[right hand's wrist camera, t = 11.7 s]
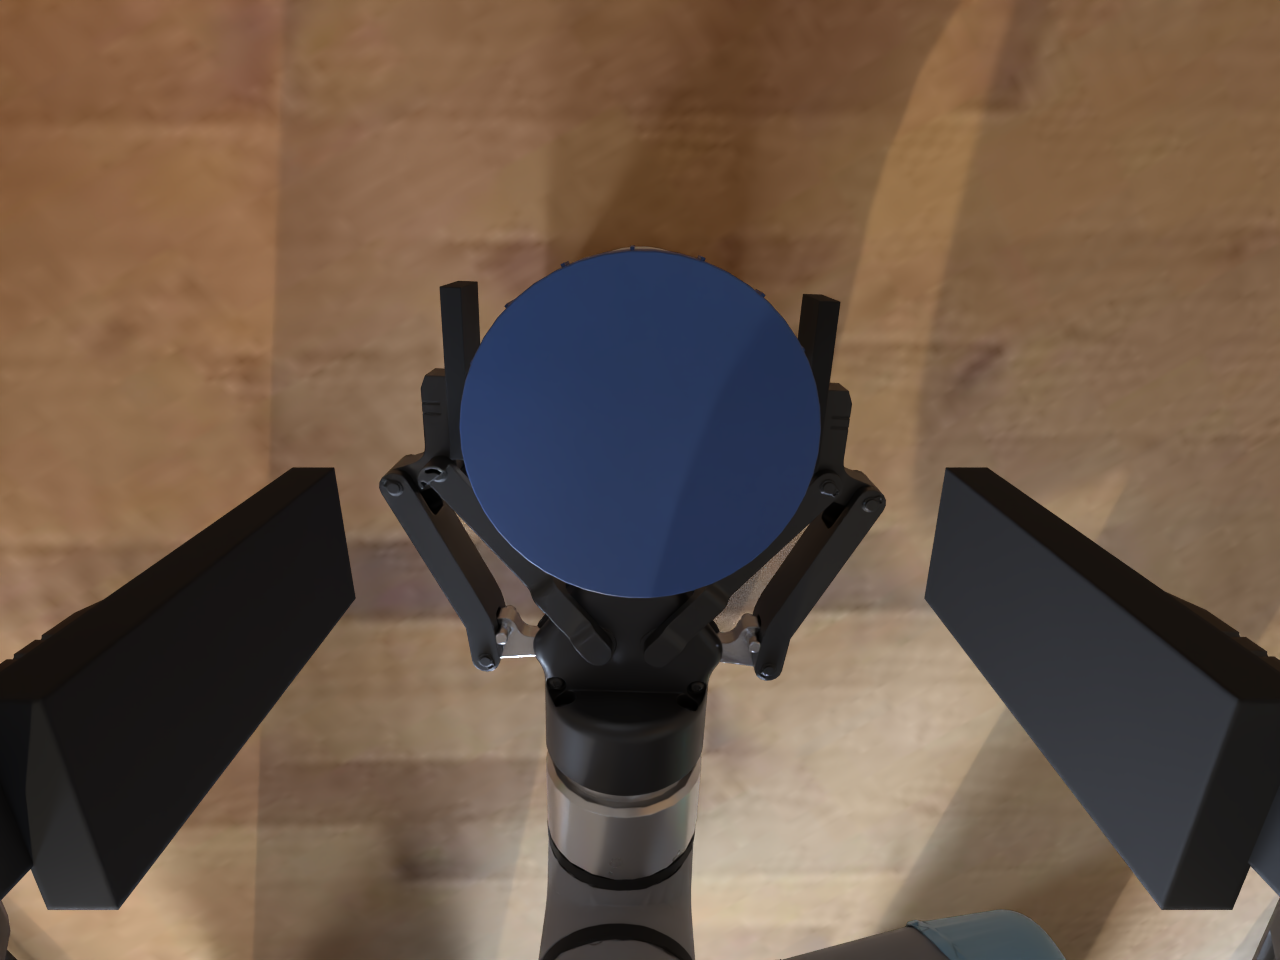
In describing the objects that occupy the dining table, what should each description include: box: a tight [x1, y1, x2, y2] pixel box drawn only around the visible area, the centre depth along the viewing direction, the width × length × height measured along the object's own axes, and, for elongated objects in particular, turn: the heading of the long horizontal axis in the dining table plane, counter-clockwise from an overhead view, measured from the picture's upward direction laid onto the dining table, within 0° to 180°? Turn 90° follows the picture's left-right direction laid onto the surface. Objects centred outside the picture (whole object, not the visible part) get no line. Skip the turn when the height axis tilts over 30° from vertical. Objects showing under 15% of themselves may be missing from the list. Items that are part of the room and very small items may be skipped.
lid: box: [460, 245, 821, 598], centre depth 19 cm, size 10×10×2 cm
